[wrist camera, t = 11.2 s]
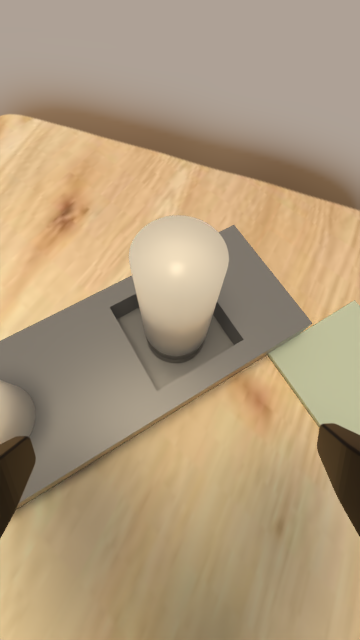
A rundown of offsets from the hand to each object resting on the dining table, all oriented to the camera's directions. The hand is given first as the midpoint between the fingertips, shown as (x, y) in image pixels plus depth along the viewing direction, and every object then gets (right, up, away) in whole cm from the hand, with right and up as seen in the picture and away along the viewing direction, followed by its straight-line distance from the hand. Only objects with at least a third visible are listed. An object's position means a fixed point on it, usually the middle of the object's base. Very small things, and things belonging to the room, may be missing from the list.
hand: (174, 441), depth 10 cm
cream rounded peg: (0, +3, +15) cm, 15 cm away
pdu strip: (-3, +1, +15) cm, 15 cm away
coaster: (+13, 0, +15) cm, 20 cm away
